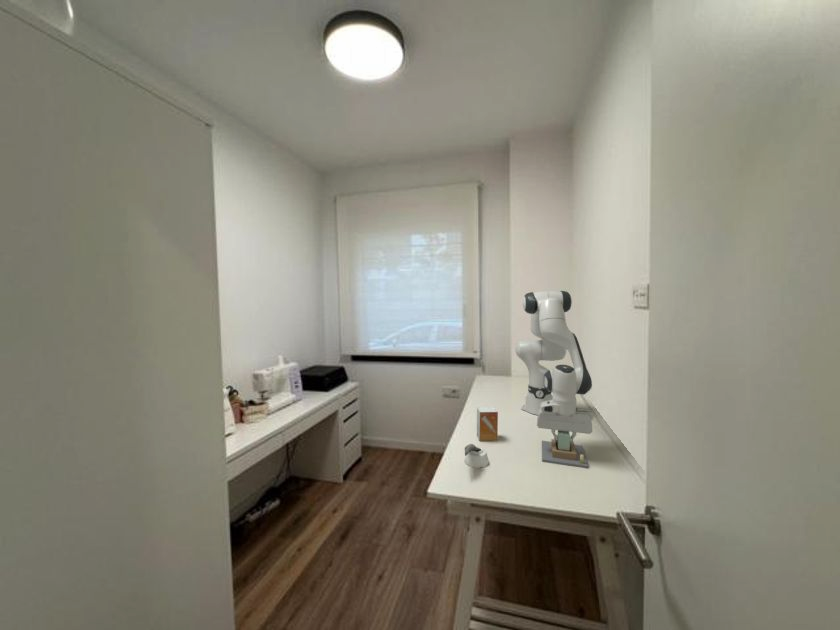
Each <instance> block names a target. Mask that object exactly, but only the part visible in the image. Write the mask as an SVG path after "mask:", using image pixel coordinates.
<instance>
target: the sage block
mask: <svg viewBox="0 0 840 630" xmlns="http://www.w3.org/2000/svg"><path fill="white" fill-rule="evenodd" d="M557 435H558V449H560V450H567V451H570V437H571V435H570V432H569V431H560V430H557Z"/></svg>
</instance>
